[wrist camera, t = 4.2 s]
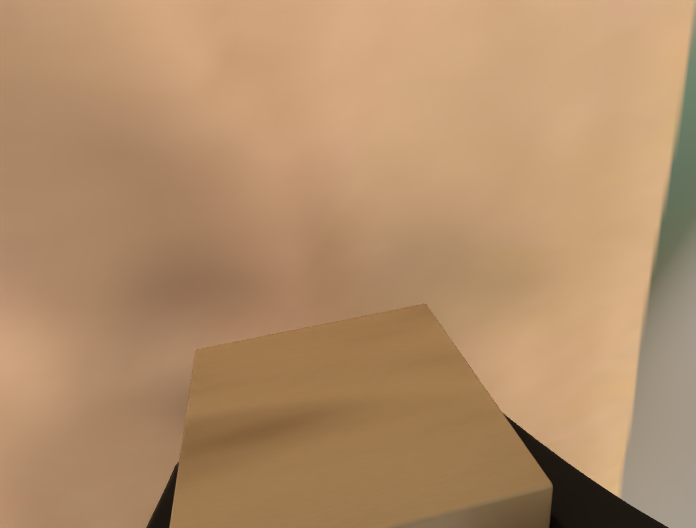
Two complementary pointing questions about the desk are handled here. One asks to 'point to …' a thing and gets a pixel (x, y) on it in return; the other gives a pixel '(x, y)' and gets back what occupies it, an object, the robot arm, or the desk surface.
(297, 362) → the block
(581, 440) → the desk surface
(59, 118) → the desk surface
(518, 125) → the desk surface
